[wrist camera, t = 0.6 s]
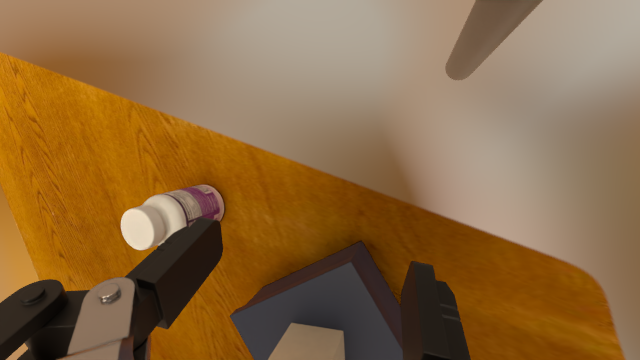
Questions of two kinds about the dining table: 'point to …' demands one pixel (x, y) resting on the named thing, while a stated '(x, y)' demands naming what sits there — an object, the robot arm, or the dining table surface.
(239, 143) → the dining table surface
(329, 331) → the cream box
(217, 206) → the pill bottle
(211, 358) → the dining table surface
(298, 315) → the storage box
